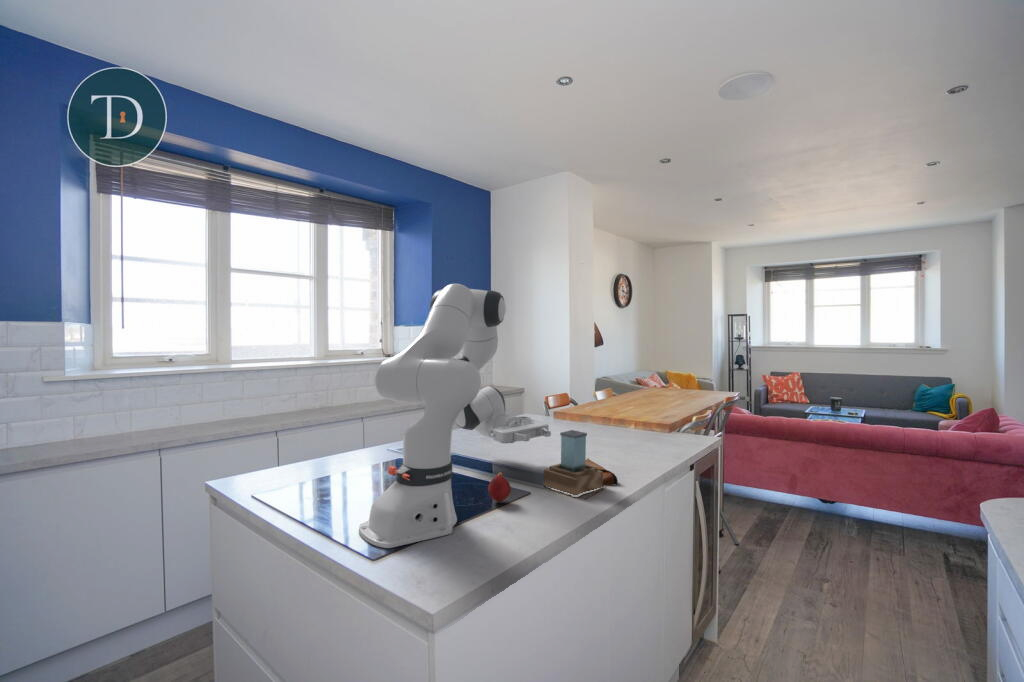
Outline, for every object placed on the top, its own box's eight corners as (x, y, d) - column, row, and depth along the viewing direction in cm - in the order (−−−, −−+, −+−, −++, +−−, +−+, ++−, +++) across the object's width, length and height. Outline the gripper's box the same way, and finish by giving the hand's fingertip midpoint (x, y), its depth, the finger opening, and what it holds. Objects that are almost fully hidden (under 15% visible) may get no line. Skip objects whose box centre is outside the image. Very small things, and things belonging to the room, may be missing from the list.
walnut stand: (575, 498, 129) (575, 476, 129) (543, 486, 138) (544, 466, 138) (602, 488, 137) (602, 467, 137) (570, 478, 146) (571, 459, 146)
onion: (496, 508, 121) (496, 477, 121) (484, 501, 125) (484, 471, 125) (514, 503, 124) (514, 473, 124) (502, 497, 129) (502, 468, 129)
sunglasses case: (566, 469, 155) (575, 451, 156) (582, 478, 157) (592, 460, 158) (592, 487, 138) (603, 466, 139) (610, 497, 140) (621, 477, 141)
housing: (574, 474, 133) (574, 435, 133) (559, 470, 137) (560, 432, 137) (586, 470, 137) (586, 433, 137) (572, 466, 141) (572, 430, 141)
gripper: (485, 423, 151) (514, 430, 140) (530, 416, 164) (560, 422, 154) (484, 443, 151) (514, 452, 141) (530, 434, 165) (560, 441, 154)
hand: (538, 436), depth 147 cm, fingers open, 8 cm apart
